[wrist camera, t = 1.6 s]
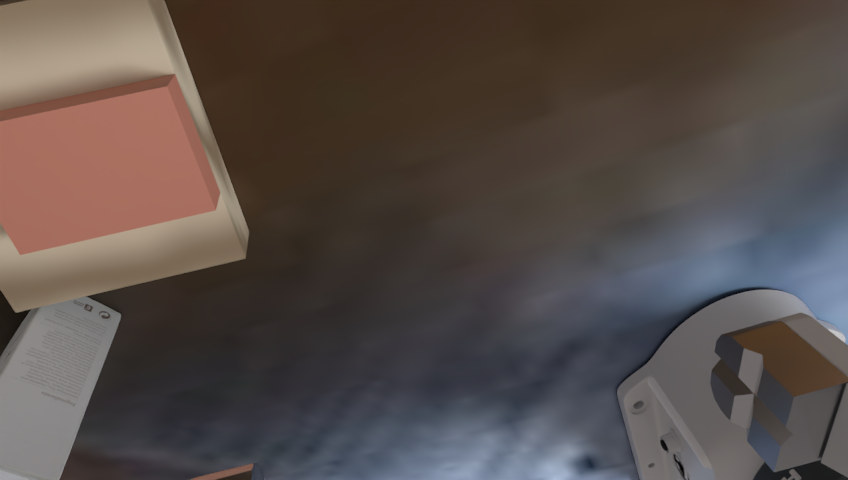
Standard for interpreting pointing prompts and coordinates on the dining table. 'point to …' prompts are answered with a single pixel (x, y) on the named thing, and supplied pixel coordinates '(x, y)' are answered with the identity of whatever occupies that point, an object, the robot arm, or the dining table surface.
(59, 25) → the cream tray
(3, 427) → the skincare box
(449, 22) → the dining table surface
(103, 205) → the pink tray
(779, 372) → the robot arm
